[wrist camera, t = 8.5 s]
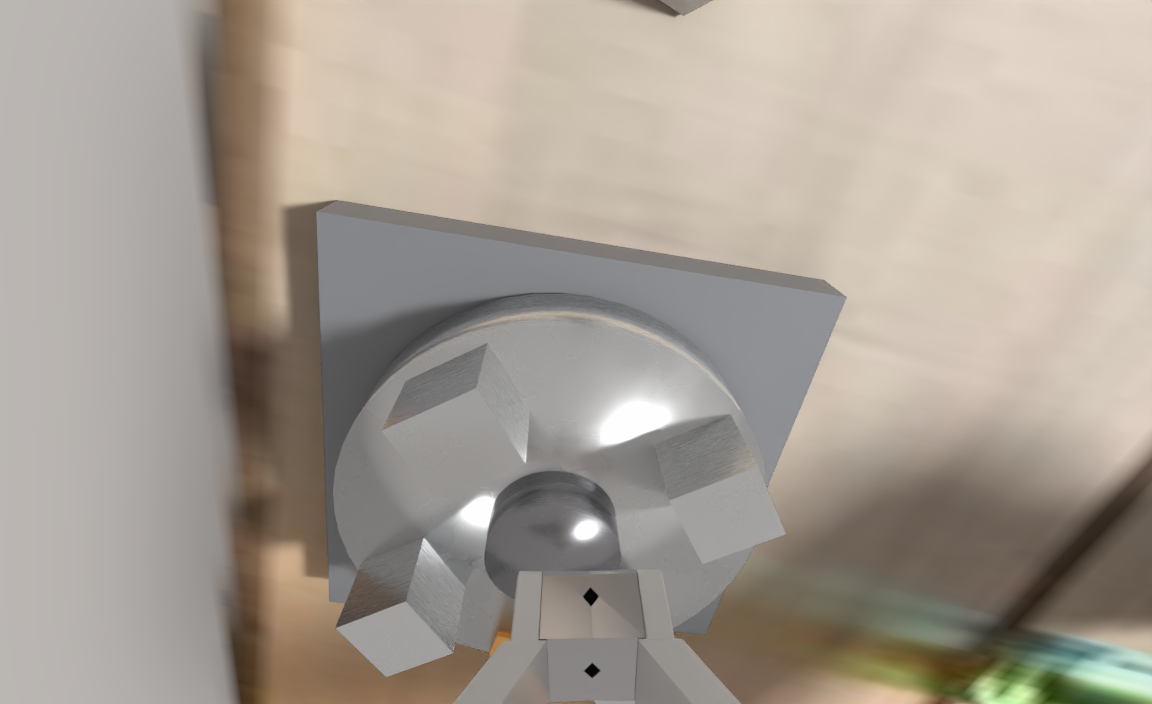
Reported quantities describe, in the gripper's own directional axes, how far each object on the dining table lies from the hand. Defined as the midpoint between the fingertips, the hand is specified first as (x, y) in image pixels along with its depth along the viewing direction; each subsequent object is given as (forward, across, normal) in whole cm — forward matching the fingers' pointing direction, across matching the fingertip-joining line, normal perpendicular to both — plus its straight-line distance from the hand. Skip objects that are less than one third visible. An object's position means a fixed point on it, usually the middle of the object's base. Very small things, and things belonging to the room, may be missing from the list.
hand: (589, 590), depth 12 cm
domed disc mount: (+12, +1, +6) cm, 13 cm away
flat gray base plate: (+14, +1, +6) cm, 15 cm away
